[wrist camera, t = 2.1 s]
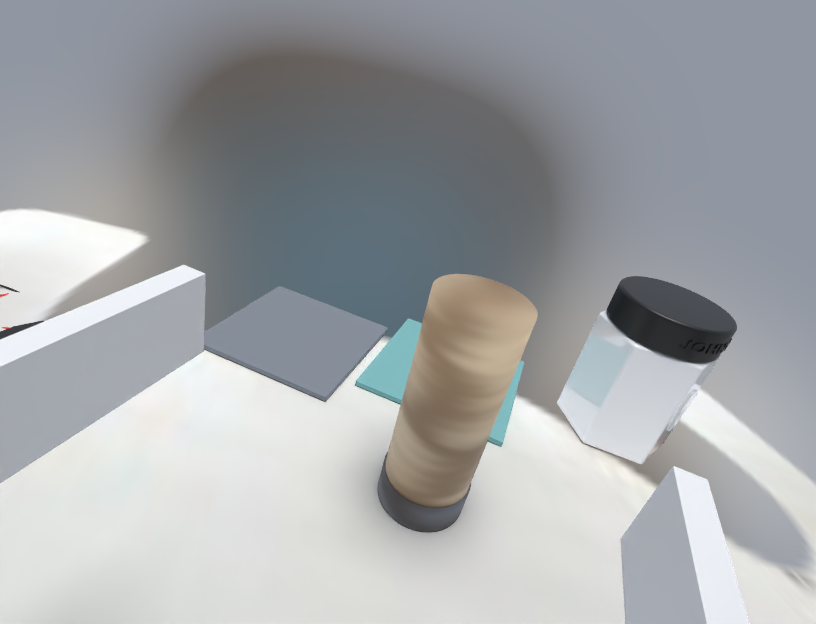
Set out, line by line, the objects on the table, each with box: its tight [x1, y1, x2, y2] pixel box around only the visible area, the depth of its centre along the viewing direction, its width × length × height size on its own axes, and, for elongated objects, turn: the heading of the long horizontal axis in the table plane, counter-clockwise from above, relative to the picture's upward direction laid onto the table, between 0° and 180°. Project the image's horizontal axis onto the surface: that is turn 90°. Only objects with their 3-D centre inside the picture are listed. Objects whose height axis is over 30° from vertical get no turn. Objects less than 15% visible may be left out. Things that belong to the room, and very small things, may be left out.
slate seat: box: [204, 286, 388, 401], centre depth 41 cm, size 12×12×1 cm
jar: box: [557, 276, 737, 464], centre depth 37 cm, size 9×8×12 cm
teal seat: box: [355, 319, 524, 446], centre depth 41 cm, size 12×12×1 cm
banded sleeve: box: [378, 274, 537, 532], centre depth 26 cm, size 5×5×14 cm
